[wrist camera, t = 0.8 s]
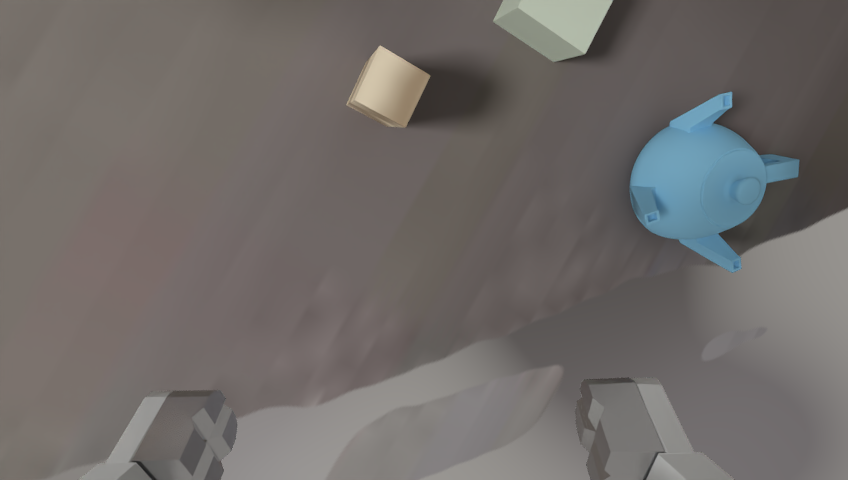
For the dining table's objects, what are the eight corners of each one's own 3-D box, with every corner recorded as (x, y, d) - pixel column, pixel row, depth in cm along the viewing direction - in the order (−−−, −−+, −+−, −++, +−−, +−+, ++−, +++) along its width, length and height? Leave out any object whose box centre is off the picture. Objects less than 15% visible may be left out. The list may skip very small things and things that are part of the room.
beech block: (346, 104, 44) (354, 100, 34) (365, 62, 43) (380, 45, 34) (386, 126, 45) (405, 127, 36) (406, 85, 45) (430, 75, 35)
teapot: (676, 259, 58) (752, 288, 48) (593, 207, 53) (659, 227, 43) (741, 155, 56) (835, 162, 46) (662, 92, 52) (747, 84, 41)
